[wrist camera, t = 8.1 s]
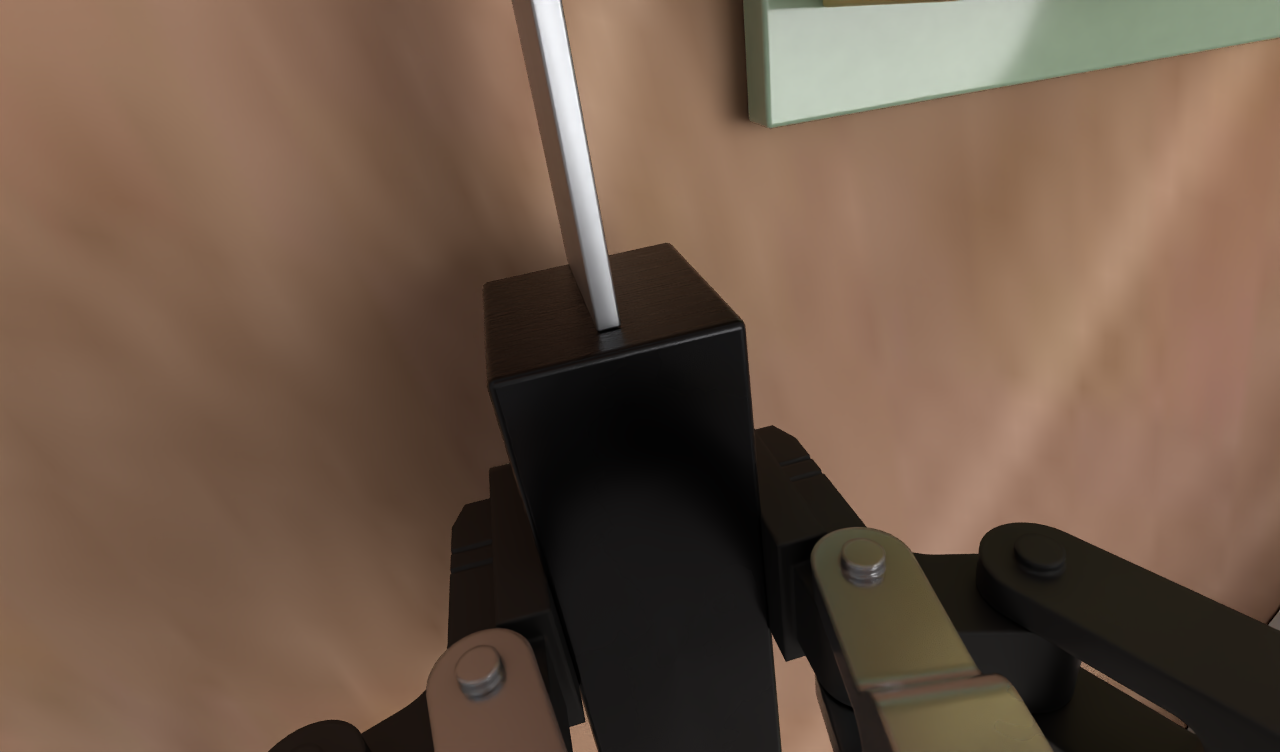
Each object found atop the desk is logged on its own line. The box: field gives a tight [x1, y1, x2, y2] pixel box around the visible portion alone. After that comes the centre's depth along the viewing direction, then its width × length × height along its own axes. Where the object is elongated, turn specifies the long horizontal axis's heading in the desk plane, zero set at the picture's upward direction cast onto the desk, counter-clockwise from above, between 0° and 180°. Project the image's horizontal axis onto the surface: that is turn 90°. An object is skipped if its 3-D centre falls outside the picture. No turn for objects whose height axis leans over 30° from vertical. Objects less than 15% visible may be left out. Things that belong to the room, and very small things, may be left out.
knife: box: [483, 0, 782, 752], centre depth 9 cm, size 21×3×3 cm, turn 9°
